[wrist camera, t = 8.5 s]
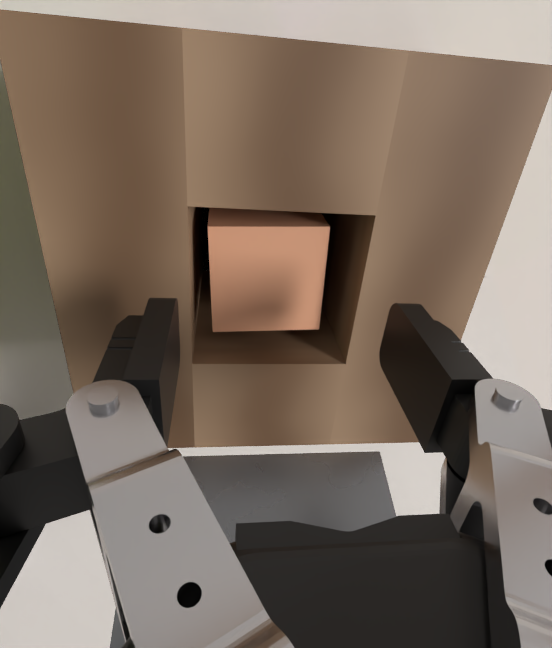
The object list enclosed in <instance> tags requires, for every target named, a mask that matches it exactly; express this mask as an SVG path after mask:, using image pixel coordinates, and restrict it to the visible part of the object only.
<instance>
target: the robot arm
mask: <svg viewBox="0 0 552 648" xmlns="http://www.w3.org/2000/svg"><path fill="white" fill-rule="evenodd" d="M379 359H380V365H381V368H382V370H383V372H384V374H385V376H386V378H387V380H388V382H389V384H390V386H391V388H392V390H393V392H394V394H395V396H396V398H397V400H398V402H399V404H400V405H401V407H402V409H403V411H404V413H405V415H406V417H407V419H408V421H409V423H410V425H411V427H412V429H413V431H414V433H415V435H416V437H417V439H418V441H419V443H420V444H421V446H422V448H423V450H424V452H425V453H433V452H443V453H444V455H445V456H446V458H445V460H444V463H443V465H442V468H441V489H440V514H427V515H406V516H397V517H394V518H391V519H388V520H385V521H382V522H379V523H376V524H373V525H370V526H367V527H364V528H361V529H358V530H355V531H348V532H347V531H340V530H335V529H330V528H325V527H320V526H315V525H310V524H305V523H299V522H294V521H276V522H254V523H236V532H235V542H232V543H229V542H228V540H227V538H226V536H225V534H224V532H223V531H222V529H221V527H220V525H219V523H218V521H217V519H216V517H215V516H214V514H213V512H212V510H211V508H210V506H209V504H208V503H207V501H206V499H205V497H204V495H203V493H202V491H201V490H200V488H199V486H198V484H197V482H196V480H195V478H194V477H193V475H192V473H191V471H190V469H189V467H188V465H187V464H186V462H185V460H184V458H183V456H182V455H181V453H180V452H179V451H178V450H177V449H173V450H171V451H169V450H168V448H167V446H168V439H169V433H170V426H171V419H172V413H173V406H174V400H175V393H176V386H177V380H178V373H179V366H180V333H179V312H178V300H177V298H149V299H148V302H147V305H146V308H145V311H144V315H128V316H127V317H126V318H125V319H123V320H122V321H121V322H120V323H118V324H117V325H116V327H115V330H114V332H113V334H112V337H111V340H110V342H109V344H108V346H107V350H106V351H105V354H104V356H103V358H102V361H101V363H100V365H99V368H98V370H97V373H96V375H95V377H94V380H93V382H92V383H91V384H88V385H86V386H84V387H82V388H80V389H79V390H77V391H76V392H75V393H74V394H73V395H72V396H71V397H70V398H69V400H68V402H67V404H66V408H65V409H62V410H60V411H57V412H53V413H50V414H45V415H41V416H36V417H32V418H28V419H23V420H19V417H18V414H17V413H16V411H15V410H14V409H13V408H11V407H9V406H6V405H3V404H0V608H1V606H2V604H3V602H4V600H5V598H6V597H7V595H8V593H9V591H10V589H11V587H12V585H13V584H14V582H15V580H16V578H17V576H18V574H19V573H20V571H21V569H22V567H23V565H24V563H25V561H26V560H27V558H28V556H29V554H30V552H31V550H32V548H33V547H34V545H35V543H36V541H37V539H38V537H39V535H40V534H41V532H42V530H43V528H44V526H45V524H46V523H49V522H52V521H55V520H58V519H62V518H65V517H68V516H71V515H74V514H77V513H80V512H83V511H87V510H90V513H91V517H92V521H93V524H94V528H95V531H96V535H97V539H98V542H99V546H100V549H101V553H102V557H103V560H104V564H105V567H106V571H107V575H108V578H109V582H110V586H111V590H112V594H113V598H114V601H115V605H116V609H117V613H118V617H119V620H120V624H121V628H122V631H123V635H124V638H125V644H124V645H123V646H122V647H121V648H552V410H547V409H543V408H541V407H540V404H539V402H538V401H537V399H536V398H535V397H534V396H533V395H532V394H530V393H529V392H528V391H526V390H525V389H523V388H522V387H520V386H518V385H516V384H513V383H511V382H508V381H504V380H500V379H493V378H492V377H491V375H490V374H489V373H488V372H487V371H486V370H485V368H484V367H483V366H482V365H481V364H480V363H479V361H478V360H477V359H476V358H475V357H474V355H473V354H472V353H471V352H469V350H468V348H467V347H466V346H465V345H464V344H463V343H461V340H460V339H459V338H458V337H457V335H456V334H455V333H454V332H453V331H452V330H451V329H449V328H448V327H446V326H445V325H443V324H442V323H440V322H439V321H437V320H433V318H432V317H431V316H430V315H429V313H428V312H427V311H426V310H425V308H424V307H423V306H422V305H421V304H412V303H394V304H393V305H392V306H391V307H390V310H389V314H388V318H387V322H386V326H385V330H384V334H383V338H382V342H381V346H380V352H379Z"/></svg>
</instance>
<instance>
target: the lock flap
mask: <svg viewBox="0 0 552 648" xmlns="http://www.w3.org/2000/svg"><path fill="white" fill-rule="evenodd" d="M183 458H184V460H185V462H186V464H187V465H188V467H189V469H190V471H191V473H192V475H193V477H194V478H195V480H196V482H197V484H198V486H199V488H200V490H201V491H202V493H203V495H204V497H205V499H206V501H207V503H208V504H209V506H210V508H211V510H212V512H213V514H214V516H215V517H216V519H217V521H218V523H219V525H220V527H221V529H222V531H223V532H224V534H225V536H226V538H227V540H228V542H229V543H232V542H235V532H236V523H254V522H276V521H294V522H299V523H305V524H310V525H315V526H320V527H325V528H330V529H335V530H340V531H347V532H348V531H355V530H358V529H361V528H364V527H367V526H370V525H373V524H376V523H379V522H382V521H385V520H388V519H391V518H394V517H396V514H395V510H394V506H393V502H392V498H391V494H390V490H389V487H388V483H387V479H386V475H385V471H384V467H383V463H382V459H381V455H380V452H342V453H303V454H265V455H226V456H187V457H183ZM124 644H125V638H124V635H123V631H122V628H121V624H120V620H119V617H118V613H117V609H116V610H115V617H114V624H113V630H112V637H111V644H110V648H121V647H122V646H123V645H124Z"/></svg>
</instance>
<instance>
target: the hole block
mask: <svg viewBox="0 0 552 648" xmlns="http://www.w3.org/2000/svg"><path fill="white" fill-rule="evenodd" d="M0 61H1V65H2V70H3V74H4V79H5V83H6V88H7V93H8V97H9V102H10V106H11V111H12V115H13V120H14V124H15V129H16V134H17V138H18V143H19V147H20V152H21V156H22V161H23V165H24V170H25V174H26V179H27V184H28V188H29V193H30V197H31V202H32V206H33V211H34V215H35V220H36V224H37V229H38V234H39V238H40V243H41V247H42V252H43V256H44V261H45V265H46V270H47V275H48V279H49V284H50V288H51V293H52V297H53V302H54V306H55V311H56V315H57V320H58V325H59V329H60V334H61V338H62V343H63V347H64V352H65V356H66V361H67V365H68V370H69V375H70V379H71V384H72V388H73V393H75V392H76V391H77V390H79V389H80V388H82V387H84V386H86V385H88V384H91V383H92V382H93V380H94V377H95V375H96V373H97V370H98V368H99V365H100V363H101V361H102V358H103V356H104V354H105V351H106V350H107V346H108V344H109V342H110V340H111V337H112V334H113V332H114V330H115V327H116V325H117V324H118V323H120V322H121V321H122V320H123V319H125V318H126V317H127V316H128V315H144V311H145V308H146V305H147V302H148V299H149V298H177V300H178V312H179V333H180V366H179V373H178V380H177V386H176V393H175V400H174V406H173V413H172V419H171V426H170V433H169V439H168V446H167V448H186V447H229V446H273V445H316V444H360V443H403V442H419V441H418V439H417V437H416V435H415V433H414V431H413V429H412V427H411V425H410V423H409V421H408V419H407V417H406V415H405V413H404V411H403V409H402V407H401V405H400V404H399V402H398V400H397V398H396V396H395V394H394V392H393V390H392V388H391V386H390V384H389V382H388V380H387V378H386V376H385V374H384V372H383V370H382V368H381V365H380V359H379V352H380V346H381V342H382V338H383V334H384V330H385V326H386V322H387V318H388V314H389V310H390V307H391V306H392V305H393V304H394V303H412V304H421V305H422V306H423V307H424V308H425V310H426V311H427V312H428V313H429V315H430V316H431V317H432V318H433V320H437V321H439V322H440V323H442V324H443V325H445V326H446V327H448V328H449V329H451V330H452V331H453V332H454V333H455V334H456V335H457V337H458V338H459V339H460V340H461V338H462V335H463V333H464V330H465V327H466V324H467V322H468V319H469V316H470V313H471V311H472V308H473V305H474V302H475V300H476V297H477V294H478V291H479V289H480V286H481V283H482V280H483V278H484V275H485V272H486V269H487V267H488V264H489V261H490V259H491V256H492V253H493V250H494V248H495V245H496V242H497V239H498V237H499V234H500V231H501V228H502V226H503V223H504V220H505V217H506V215H507V212H508V209H509V206H510V204H511V201H512V198H513V195H514V193H515V190H516V187H517V184H518V182H519V179H520V176H521V173H522V171H523V168H524V165H525V162H526V160H527V157H528V154H529V151H530V149H531V146H532V143H533V140H534V138H535V135H536V132H537V129H538V127H539V124H540V121H541V118H542V116H543V113H544V110H545V107H546V105H547V102H548V99H549V96H550V94H551V91H552V65H545V64H535V63H525V62H515V61H505V60H495V59H485V58H475V57H465V56H456V55H446V54H436V53H426V52H416V51H406V50H396V49H386V48H376V47H366V46H356V45H346V44H337V43H327V42H317V41H307V40H297V39H287V38H277V37H267V36H257V35H247V34H237V33H227V32H218V31H208V30H198V29H188V28H178V27H168V26H158V25H148V24H138V23H128V22H118V21H108V20H99V19H89V18H79V17H69V16H59V15H49V14H39V13H29V12H19V11H9V10H0ZM202 207H211V208H232V209H252V210H273V211H294V212H315V213H321V214H322V215H323V217H324V218H325V220H326V221H327V223H328V224H329V226H330V233H329V242H328V251H327V261H326V270H325V279H324V289H323V298H322V307H321V317H320V326H319V329H313V330H273V331H233V332H213V329H212V308H211V287H210V271H205V270H203V268H202Z"/></svg>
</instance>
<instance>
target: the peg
mask: <svg viewBox="0 0 552 648" xmlns="http://www.w3.org/2000/svg"><path fill="white" fill-rule="evenodd" d="M329 233H330V226H329V224H328V223H327V221H326V220H325V218H324V217H323V215H322V214H321V213H315V212H294V211H273V210H252V209H232V208H211V207H209V217H208V245H209V266H210V287H211V308H212V329H213V332H233V331H273V330H313V329H319V326H320V317H321V307H322V298H323V289H324V279H325V270H326V261H327V251H328V242H329Z"/></svg>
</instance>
